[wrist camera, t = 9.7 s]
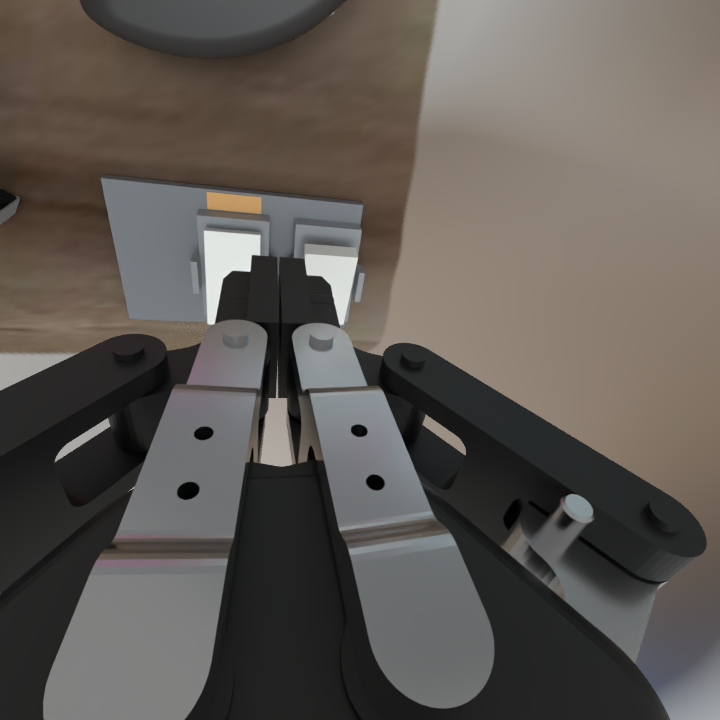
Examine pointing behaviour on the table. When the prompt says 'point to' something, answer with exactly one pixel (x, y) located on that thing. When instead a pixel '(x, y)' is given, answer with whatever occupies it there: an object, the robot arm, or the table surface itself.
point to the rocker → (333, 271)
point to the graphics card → (7, 205)
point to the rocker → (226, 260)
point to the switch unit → (186, 237)
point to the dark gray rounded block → (209, 23)
